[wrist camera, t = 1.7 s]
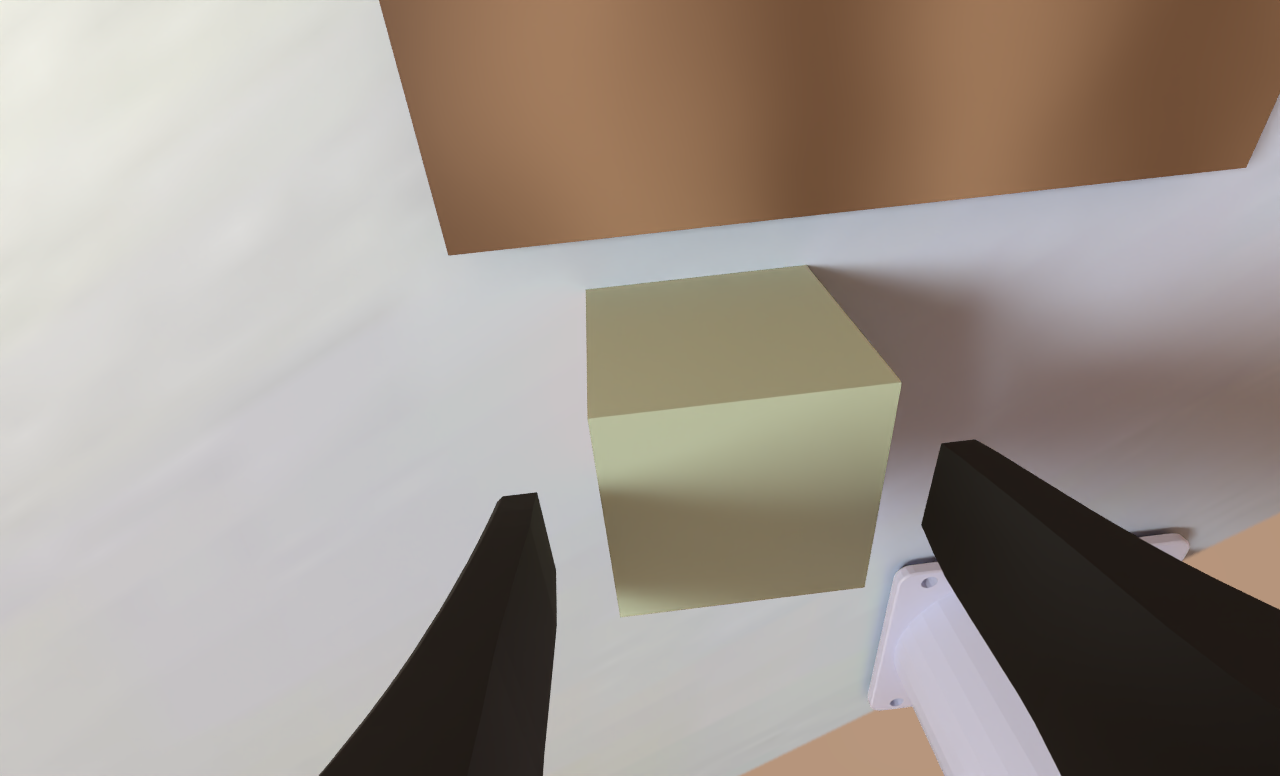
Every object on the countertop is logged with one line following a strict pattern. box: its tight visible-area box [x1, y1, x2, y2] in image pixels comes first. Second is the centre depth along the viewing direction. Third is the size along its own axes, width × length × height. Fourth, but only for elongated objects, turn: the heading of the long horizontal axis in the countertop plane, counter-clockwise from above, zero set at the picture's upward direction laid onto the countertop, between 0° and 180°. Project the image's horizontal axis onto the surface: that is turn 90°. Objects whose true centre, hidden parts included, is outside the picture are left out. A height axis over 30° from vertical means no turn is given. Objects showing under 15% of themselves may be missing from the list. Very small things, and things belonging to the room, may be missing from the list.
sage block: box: [586, 265, 902, 617], centre depth 13 cm, size 5×5×5 cm
